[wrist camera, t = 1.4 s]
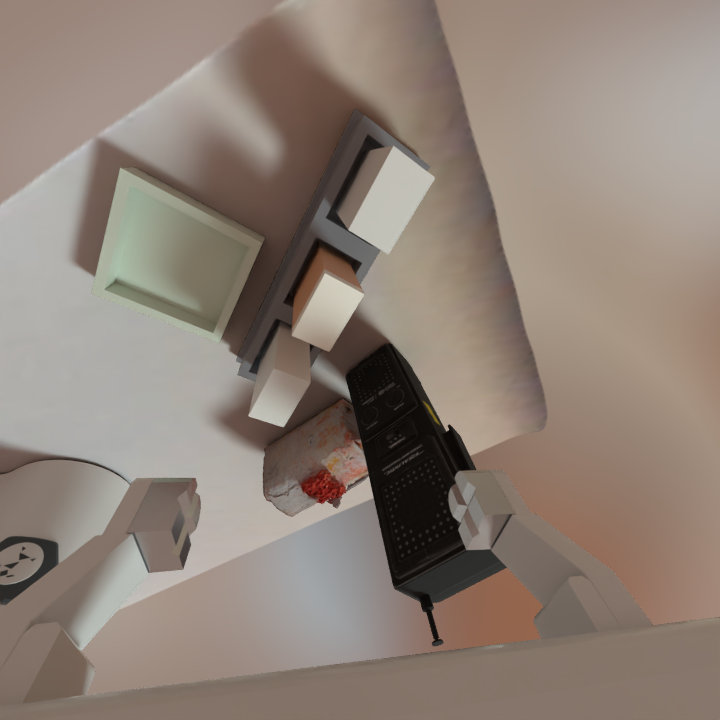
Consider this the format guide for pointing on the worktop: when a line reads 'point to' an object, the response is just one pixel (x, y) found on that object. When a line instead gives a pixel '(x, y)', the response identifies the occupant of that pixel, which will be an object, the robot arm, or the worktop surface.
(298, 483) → the food item
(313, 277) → the block
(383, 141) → the fuse block
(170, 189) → the tray
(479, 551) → the portable radio
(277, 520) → the worktop surface
